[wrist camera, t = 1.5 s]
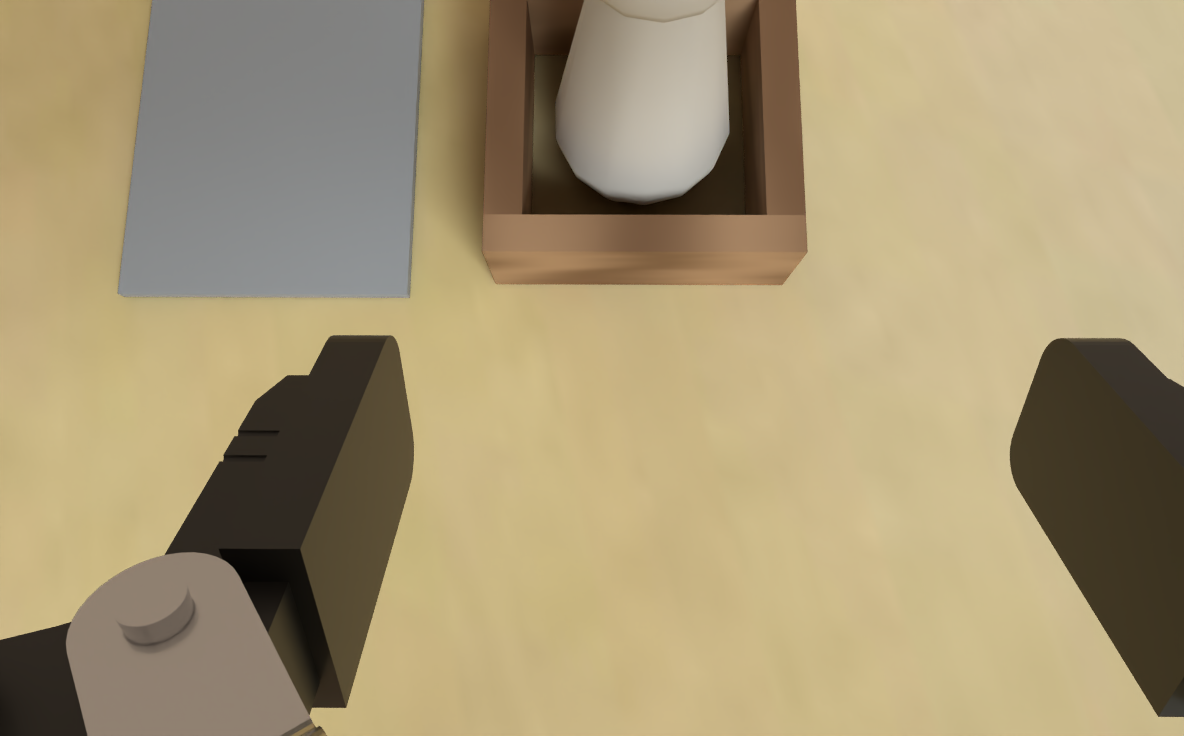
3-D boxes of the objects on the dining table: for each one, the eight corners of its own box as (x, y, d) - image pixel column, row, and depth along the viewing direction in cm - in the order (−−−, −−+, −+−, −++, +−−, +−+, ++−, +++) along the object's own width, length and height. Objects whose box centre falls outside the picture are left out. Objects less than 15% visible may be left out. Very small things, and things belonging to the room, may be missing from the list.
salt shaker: (598, 54, 30) (598, -288, 18) (742, 112, 30) (850, -197, 17) (532, 191, 29) (481, -67, 17) (680, 252, 29) (744, 36, 16)
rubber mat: (124, 296, 29) (117, 293, 28) (162, -34, 31) (156, -41, 31) (409, 297, 29) (407, 294, 28) (425, -34, 31) (423, -42, 31)
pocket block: (495, 284, 29) (481, 251, 25) (503, 25, 31) (491, -38, 27) (782, 284, 29) (807, 252, 25) (771, 26, 30) (794, -38, 27)
